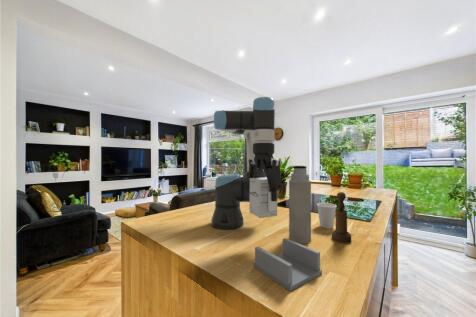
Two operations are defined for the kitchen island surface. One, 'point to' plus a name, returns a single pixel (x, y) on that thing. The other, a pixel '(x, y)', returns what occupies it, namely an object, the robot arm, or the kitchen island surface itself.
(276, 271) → the holder
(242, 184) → the robot arm
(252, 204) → the supplement box
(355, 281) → the kitchen island surface
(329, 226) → the dixie cup
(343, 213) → the brown wooden turned piece
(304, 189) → the thermos bottle
